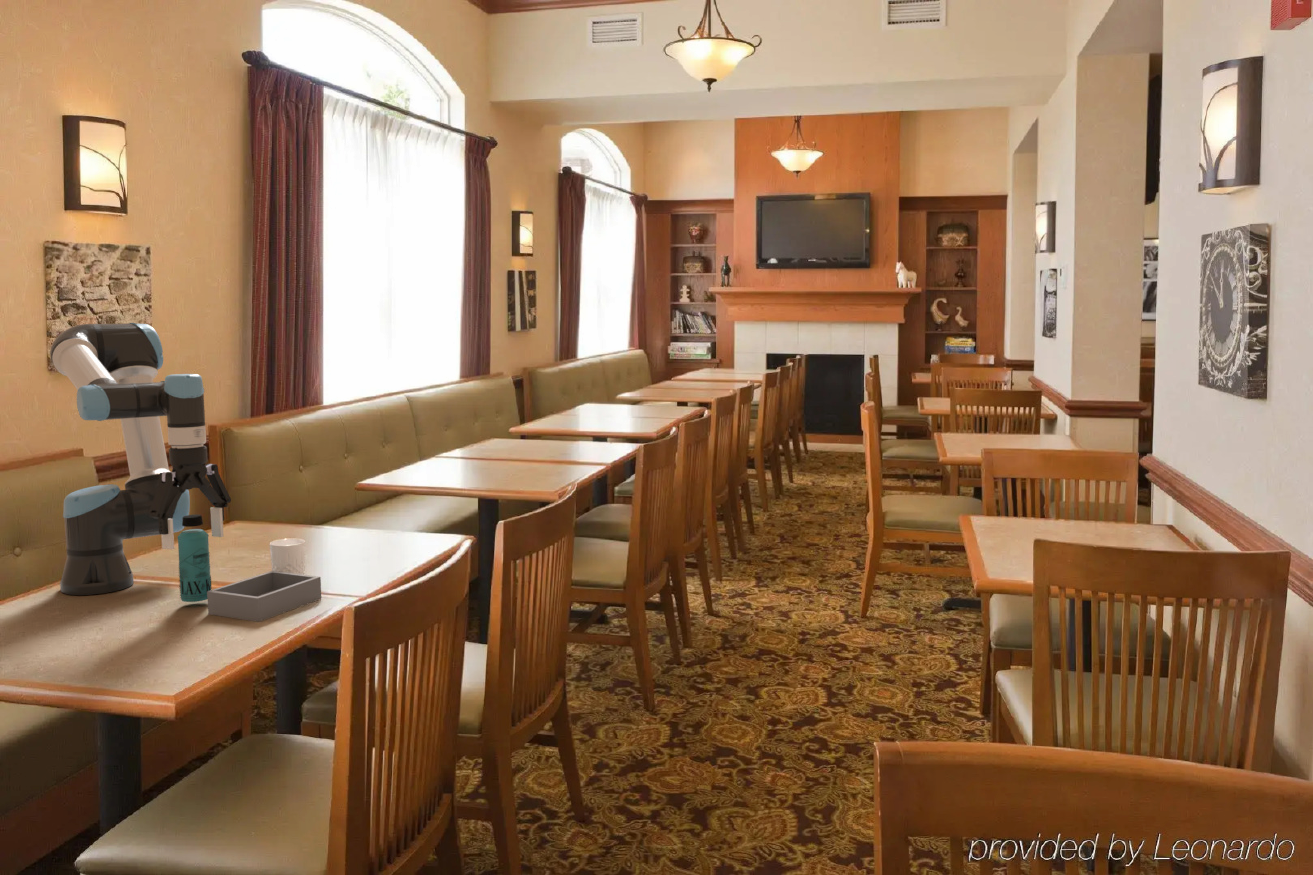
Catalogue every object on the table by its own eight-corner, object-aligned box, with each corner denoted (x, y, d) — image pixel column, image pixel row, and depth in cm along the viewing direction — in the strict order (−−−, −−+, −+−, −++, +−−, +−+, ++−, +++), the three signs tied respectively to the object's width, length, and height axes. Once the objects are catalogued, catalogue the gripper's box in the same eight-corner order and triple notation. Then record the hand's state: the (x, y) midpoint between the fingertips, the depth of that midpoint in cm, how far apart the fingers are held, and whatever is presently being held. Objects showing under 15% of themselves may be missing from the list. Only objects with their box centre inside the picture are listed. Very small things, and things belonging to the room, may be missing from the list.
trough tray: (208, 614, 226) (207, 591, 226) (272, 592, 244) (271, 570, 243) (259, 621, 221) (257, 598, 220) (321, 598, 238) (320, 576, 237)
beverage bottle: (173, 607, 232) (168, 517, 229) (196, 599, 238) (191, 511, 235) (197, 610, 229) (192, 519, 227) (219, 602, 235) (214, 513, 233)
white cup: (312, 579, 255) (310, 538, 253) (298, 588, 247) (296, 546, 246) (280, 578, 255) (278, 538, 254) (265, 587, 248) (263, 545, 246)
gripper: (152, 453, 216) (159, 555, 219) (244, 440, 239) (249, 532, 241) (126, 452, 219) (132, 553, 222) (219, 438, 242) (224, 530, 244)
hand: (193, 542), depth 231 cm, fingers open, 13 cm apart
